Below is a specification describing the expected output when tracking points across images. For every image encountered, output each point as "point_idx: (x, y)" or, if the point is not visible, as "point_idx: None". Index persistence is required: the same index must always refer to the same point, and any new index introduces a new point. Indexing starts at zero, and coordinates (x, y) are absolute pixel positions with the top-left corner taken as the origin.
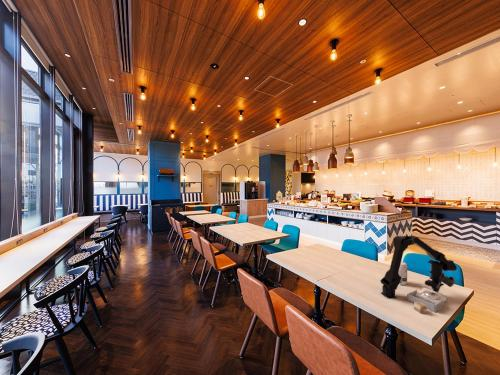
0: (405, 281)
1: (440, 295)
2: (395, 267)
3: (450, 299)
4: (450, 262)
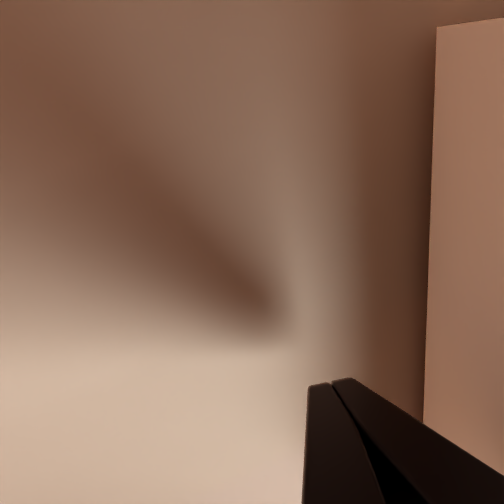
0: None
1: None
2: None
3: (92, 71)
4: None
